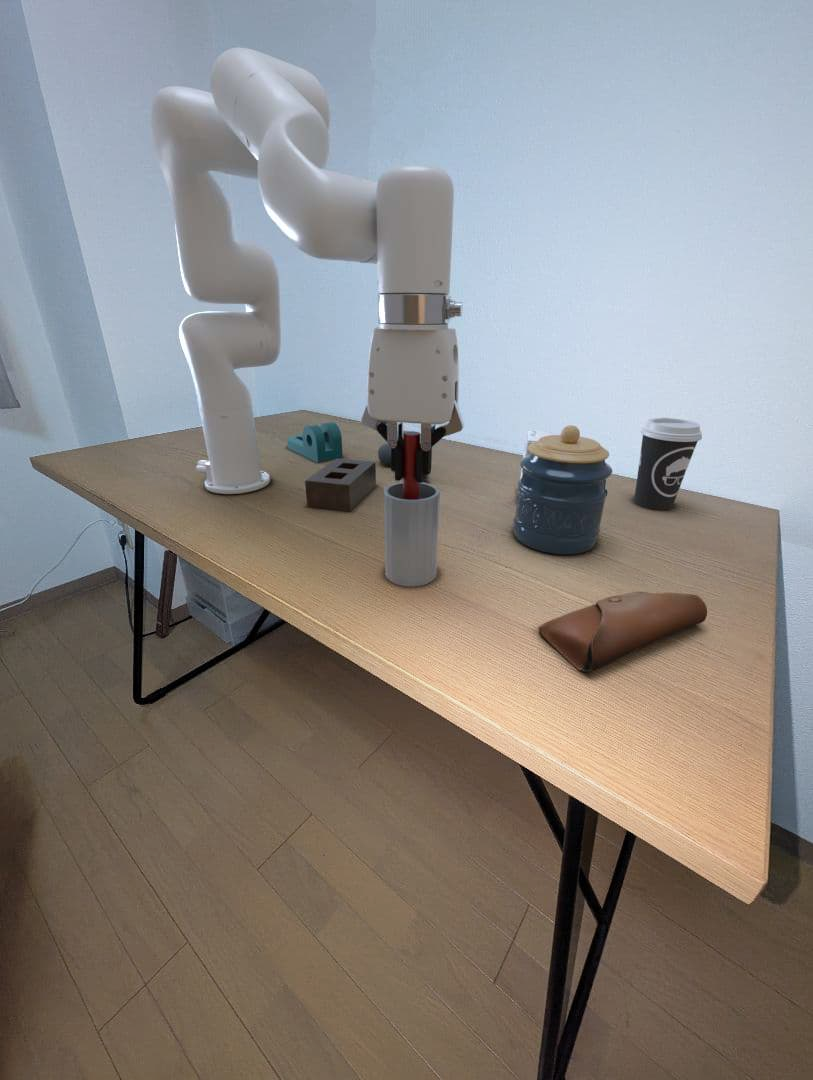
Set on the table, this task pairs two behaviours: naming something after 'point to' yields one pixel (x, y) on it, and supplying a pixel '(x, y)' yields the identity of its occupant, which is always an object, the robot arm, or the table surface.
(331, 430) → the bracket
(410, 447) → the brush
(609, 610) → the sunglasses case
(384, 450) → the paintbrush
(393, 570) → the grey cylindrical cup
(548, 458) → the canister
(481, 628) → the table surface
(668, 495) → the coffee cup
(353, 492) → the holder
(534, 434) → the ink box
